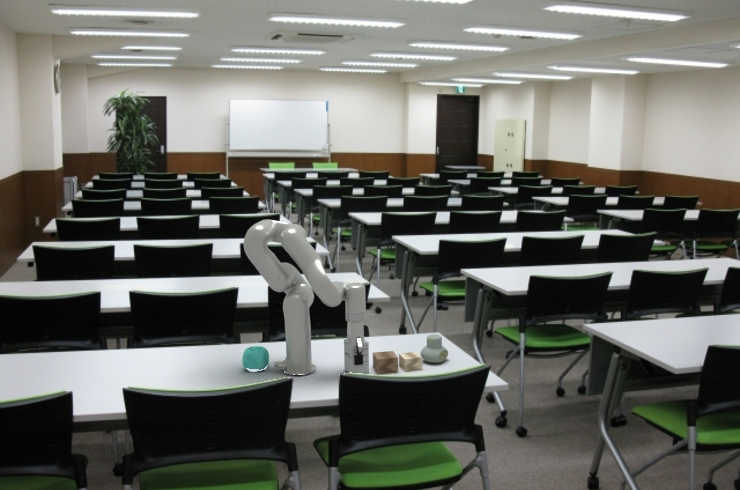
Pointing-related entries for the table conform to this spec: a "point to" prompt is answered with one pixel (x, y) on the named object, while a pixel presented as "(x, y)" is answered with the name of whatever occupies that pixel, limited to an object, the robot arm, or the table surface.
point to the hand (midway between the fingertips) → (356, 360)
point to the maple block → (410, 361)
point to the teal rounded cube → (255, 357)
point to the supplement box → (349, 358)
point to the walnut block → (385, 362)
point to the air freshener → (434, 350)
